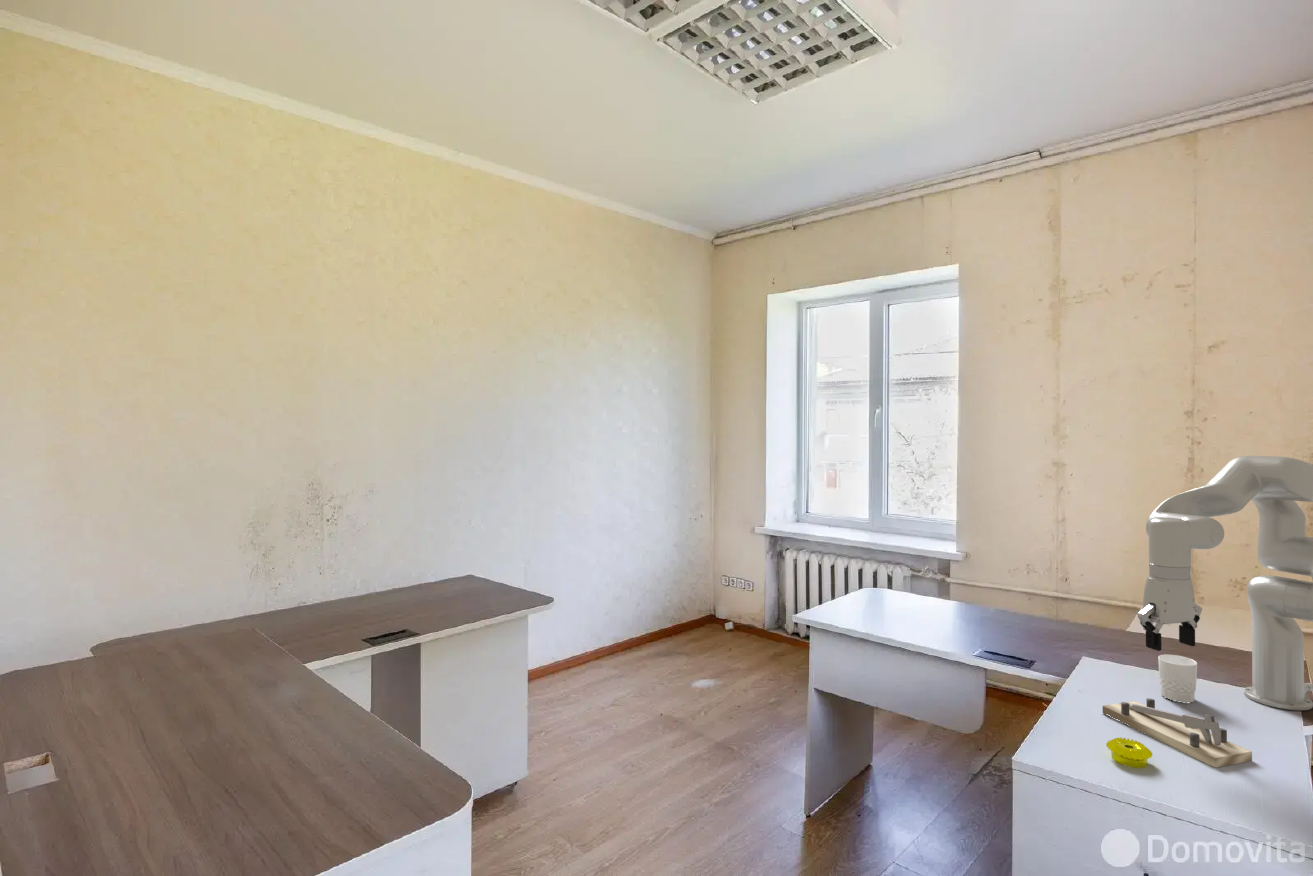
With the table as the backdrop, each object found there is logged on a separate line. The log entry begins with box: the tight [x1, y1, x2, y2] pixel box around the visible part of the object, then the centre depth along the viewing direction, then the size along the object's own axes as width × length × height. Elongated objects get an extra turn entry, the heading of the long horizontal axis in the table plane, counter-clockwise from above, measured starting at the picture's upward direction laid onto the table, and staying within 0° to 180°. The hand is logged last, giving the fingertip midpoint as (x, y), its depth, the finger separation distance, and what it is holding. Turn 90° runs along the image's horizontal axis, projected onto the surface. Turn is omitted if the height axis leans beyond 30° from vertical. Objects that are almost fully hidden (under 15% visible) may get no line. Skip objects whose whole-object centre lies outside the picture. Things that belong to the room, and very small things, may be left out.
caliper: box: [1129, 704, 1221, 746], centre depth 148 cm, size 20×1×6 cm, turn 14°
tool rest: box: [1102, 697, 1253, 768], centre depth 148 cm, size 10×26×4 cm, turn 13°
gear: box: [1105, 737, 1153, 769], centre depth 138 cm, size 8×4×8 cm
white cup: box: [1157, 654, 1198, 704], centre depth 167 cm, size 8×8×10 cm
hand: (1170, 646), depth 148 cm, fingers open, 9 cm apart
